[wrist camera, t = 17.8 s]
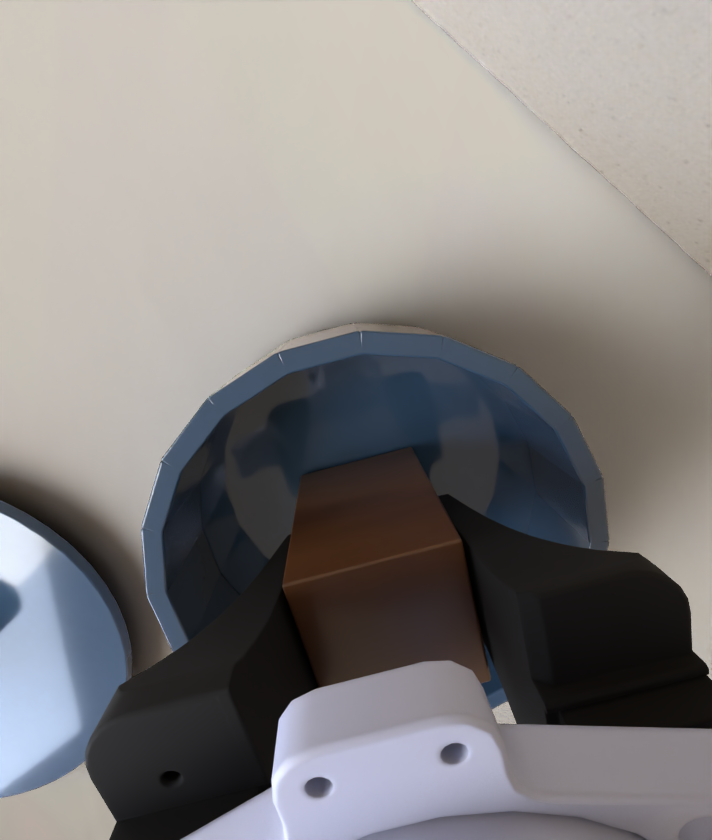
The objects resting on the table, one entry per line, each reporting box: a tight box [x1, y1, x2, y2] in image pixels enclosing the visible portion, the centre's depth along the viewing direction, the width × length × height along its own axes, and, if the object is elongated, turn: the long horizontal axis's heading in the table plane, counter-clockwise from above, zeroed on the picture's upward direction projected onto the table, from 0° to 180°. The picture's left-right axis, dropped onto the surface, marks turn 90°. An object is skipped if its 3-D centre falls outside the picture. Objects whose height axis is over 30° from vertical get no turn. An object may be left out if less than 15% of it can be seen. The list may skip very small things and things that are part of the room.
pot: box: [141, 323, 609, 709], centre depth 14 cm, size 13×13×4 cm
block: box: [282, 447, 491, 688], centre depth 13 cm, size 4×4×6 cm
